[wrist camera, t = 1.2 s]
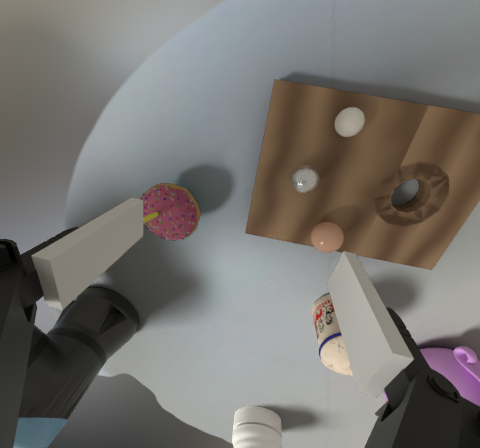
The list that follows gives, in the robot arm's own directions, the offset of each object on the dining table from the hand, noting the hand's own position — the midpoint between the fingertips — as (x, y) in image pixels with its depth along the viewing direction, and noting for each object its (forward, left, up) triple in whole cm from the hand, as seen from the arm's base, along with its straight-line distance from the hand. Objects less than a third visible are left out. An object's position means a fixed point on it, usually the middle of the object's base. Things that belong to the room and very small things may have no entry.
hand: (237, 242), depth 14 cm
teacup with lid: (+19, -24, -20) cm, 36 cm away
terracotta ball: (+11, -6, -15) cm, 20 cm away
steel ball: (+6, +1, -16) cm, 17 cm away
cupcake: (-11, -7, -20) cm, 24 cm away
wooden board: (+14, +1, -20) cm, 24 cm away
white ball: (+9, +8, -16) cm, 20 cm away
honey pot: (+13, -67, -20) cm, 71 cm away
